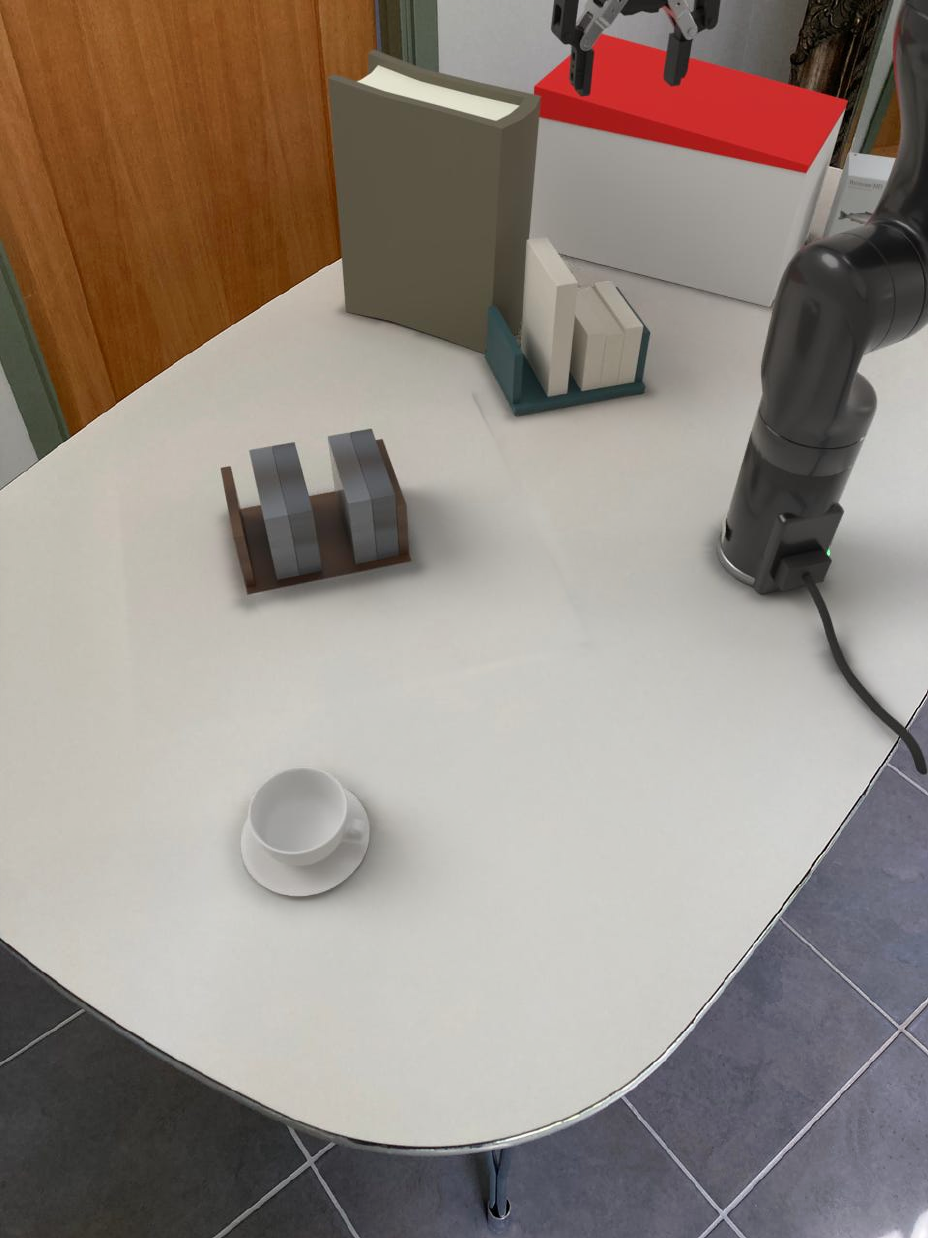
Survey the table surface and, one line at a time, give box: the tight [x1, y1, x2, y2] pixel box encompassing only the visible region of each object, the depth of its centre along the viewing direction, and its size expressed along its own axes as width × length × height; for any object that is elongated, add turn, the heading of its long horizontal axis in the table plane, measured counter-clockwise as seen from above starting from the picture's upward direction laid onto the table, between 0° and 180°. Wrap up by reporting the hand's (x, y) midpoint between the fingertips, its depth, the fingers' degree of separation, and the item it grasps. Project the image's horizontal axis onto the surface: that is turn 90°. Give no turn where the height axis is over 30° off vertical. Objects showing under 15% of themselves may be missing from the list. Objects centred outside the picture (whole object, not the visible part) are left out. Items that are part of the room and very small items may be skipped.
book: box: [327, 49, 541, 355], centre depth 112 cm, size 22×9×28 cm, turn 62°
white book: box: [520, 237, 579, 397], centre depth 108 cm, size 10×2×14 cm, turn 16°
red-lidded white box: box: [529, 33, 849, 308], centre depth 127 cm, size 21×35×21 cm, turn 63°
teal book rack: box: [484, 280, 651, 417], centre depth 111 cm, size 12×16×8 cm
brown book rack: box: [220, 428, 413, 595], centre depth 92 cm, size 12×16×9 cm
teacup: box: [240, 765, 371, 897], centre depth 73 cm, size 10×10×5 cm
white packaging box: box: [821, 151, 896, 239], centre depth 127 cm, size 7×7×13 cm
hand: (627, 87), depth 85 cm, fingers open, 8 cm apart
